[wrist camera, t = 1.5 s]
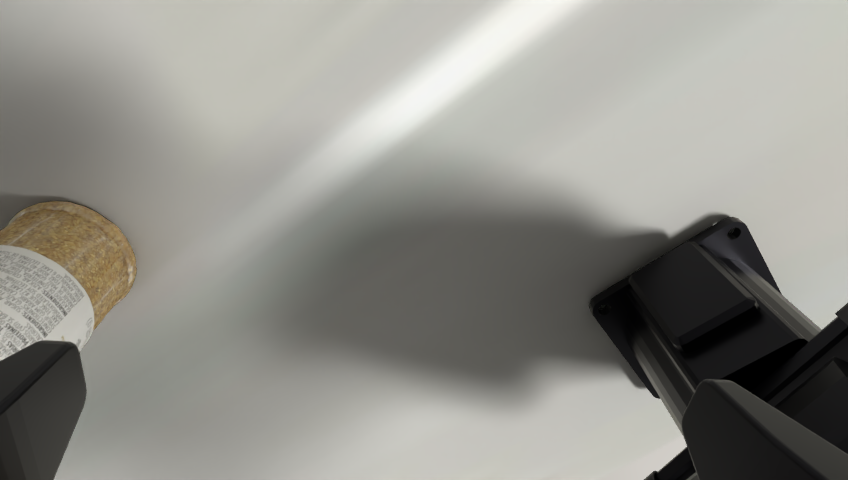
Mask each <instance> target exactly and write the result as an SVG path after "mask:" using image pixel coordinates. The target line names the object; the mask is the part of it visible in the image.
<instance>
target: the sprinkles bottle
mask: <svg viewBox="0 0 848 480" xmlns="http://www.w3.org/2000/svg"><path fill="white" fill-rule="evenodd" d="M136 270H137V268H136V259H135V256H134V253H133V250H132V248H131V246H130V244H129V243H128V241H127V238H126V237H125V236H124V235H123V234H122V232H121V231H120V229H119V228H118V227H117V226H116V225H114V224H113V223H112V222H110V221H109V220H107V219H106V218H104V217H103V216H102V215H100V214H99V213H97V212H95V211H93V210H91V209H89V208H87V207H84V206H81V205H77V204H74V203H71V202H60V201H53V202H45V203H38V204H36V205H33V206H29V207H27V208H25V209H23V210H22V211H20V212H19V213H17V214H16V215H15V216H14V217H13V218H12V219H11V220H10V222H9V223H8V225H7V226H6V227H5V228H4V229H2V230H0V361H1V360H3V359H5V358H7V357H9V356H10V355H12V354H14V353H16V352H18V351H20V350H22V349H24V348H26V347H27V346H29V345H31V344H33V343H35V342H38V341H41V340H53V341H69V342H72V343H74V344H76V346H77V347H78V350H79V352H80V351H81V349H82V348H83V347H84V346H85V344H86V343H87V342H88V340H89V338H90V337H91V334H92V332H93V330H94V329H95V328H96V327H97V325H98V324H99V323H100V322H101V321H102V320H103V318H104V317H105V315H106V314H107V313H108V312H109V311H110V310H111V309H112V307H113V306H114V305H116V304H117V303H119V302H120V301H121V300H122V299H123V298H124V297H125V296H126V295H127V293H128V292H129V291H130V289H131V287H132V285H133V282H134V279H135V276H136Z"/></svg>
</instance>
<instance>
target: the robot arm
mask: <svg viewBox="0 0 848 480" xmlns="http://www.w3.org/2000/svg"><path fill="white" fill-rule="evenodd" d="M732 228H735V229H734V231H733V232H732V233H731V234H728V232H729V230H731V229H732ZM727 234H728V235H727ZM602 305H607V306H606V307H605V308H604V309H599V308H600V307H601V306H602ZM589 308H590V310H591V312H592V314H593V316H594V317H595V319H596V320H597V321H598V323H599V324H600V325H601V327H602V328H603V329H604V331H605V332H606V333H607V335H608V336H609V337H610V339H611V340H612V341H613V343H614V344H615V345H616V347H617V348H618V349H619V351H620V352H621V354H622V355H623V356H624V358H625V359H626V360H627V362H628V363H629V364H630V366H631V367H632V368H633V370H634V371H635V372H636V374H637V375H638V376H639V378H640V379H641V380H642V382H643V383H644V384H645V386H646V387H647V389H648V390H649V391H650V393H651V394H652V395H653V396H654V397H655V398H659V399H660V398H661V400H662V402H663V403H664V405H665V407H666V408H667V410H668V412H669V413H670V415H671V417H672V418H673V420H674V421H675V423H676V425H677V426H678V428H679V430H680V431H681V433H682V435H683V436H684V439H685V441H686V444H687V447H686V448H685V449H684V450H683V451H682V452H680V453H679V454H678V455H677V456H676V457H675V458H673V459H672V460H671V461H670V462H669V463H668V464H666V465H665V466H664V467H663V468H662V469H660V470H659V471H658V472H657V471H653V472H652V473H651V474H650V475H649V476H648V477H646V479H644V480H848V303H847V304H846V305H845V306H843V307H842V308H841V309H840V310H839V311H838V312H837V313H835V314H836V315H837V316H838V317H836V318H835V319H834V320H833V321H832V322H831V323H830V324H828V325H827V326H826V327H825V328H824V329H823V330H821V329H820V328H819V327H818V326H817V325H816V324H814V323H813V322H812V321H811V320H810V319H809V318H808V317H806V316H805V315H804V314H803V313H802V312H801V311H800V310H798V309H797V308H796V307H795V306H794V305H793V304H792V303H790V302H789V301H788V300H787V299H786V298H785V297H784V296H782V294H781V292H780V290H779V288H778V286H777V284H776V282H775V280H774V278H773V276H772V275H771V273H770V271H769V269H768V267H767V265H766V263H765V261H764V259H763V257H762V255H761V253H760V251H759V249H758V247H757V245H756V243H755V241H754V239H753V237H752V235H751V234H750V232H749V230H748V228H747V226H746V225H745V224H744V223H743V222H742V221H741V220H739V219H738V218H735V217H728V218H726V219H723V220H722V221H720V222H718V223H717V224H715V225H713V226H712V227H710V228H708V229H707V230H705V231H703V232H702V233H700V234H698V235H697V236H695V237H693V238H692V239H690V240H688V241H687V242H685V243H683V244H682V245H680V246H678V247H677V248H675V249H673V250H672V251H670V252H668V253H667V254H665V255H663V256H662V257H660V258H658V259H657V260H655V261H653V262H652V263H650V264H648V265H647V266H645V267H643V268H642V269H640V270H638V271H637V272H635V273H633V274H632V275H630V276H628V277H627V278H625V279H623V280H621V281H620V282H618V283H616V284H615V285H613V286H611V287H610V288H608V289H606V290H605V291H603V292H601V293H600V294H598V295H596V296H595V297H594V298H593V299H592V300H591V301H590V304H589ZM85 400H86V383H85V378H84V373H83V368H82V363H81V358H80V353H79V350H78V347H77V346H76V344H74V343H72V342H69V341H53V340H41V341H38V342H35V343H33V344H31V345H29V346H27V347H26V348H24V349H22V350H20V351H18V352H16V353H14V354H12V355H10V356H9V357H7V358H5V359H3V360H1V361H0V480H54V477H55V475H56V472H57V470H58V467H59V465H60V463H61V460H62V458H63V455H64V453H65V450H66V448H67V446H68V443H69V441H70V438H71V436H72V433H73V431H74V429H75V426H76V424H77V421H78V419H79V416H80V414H81V412H82V409H83V407H84V404H85Z"/></svg>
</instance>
